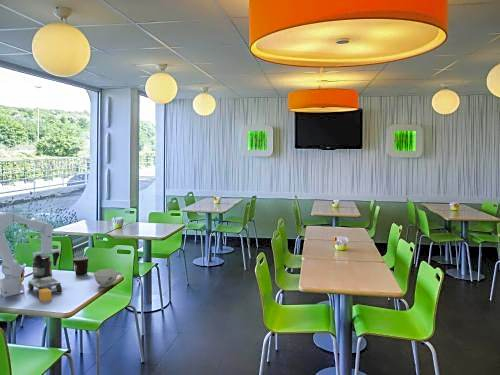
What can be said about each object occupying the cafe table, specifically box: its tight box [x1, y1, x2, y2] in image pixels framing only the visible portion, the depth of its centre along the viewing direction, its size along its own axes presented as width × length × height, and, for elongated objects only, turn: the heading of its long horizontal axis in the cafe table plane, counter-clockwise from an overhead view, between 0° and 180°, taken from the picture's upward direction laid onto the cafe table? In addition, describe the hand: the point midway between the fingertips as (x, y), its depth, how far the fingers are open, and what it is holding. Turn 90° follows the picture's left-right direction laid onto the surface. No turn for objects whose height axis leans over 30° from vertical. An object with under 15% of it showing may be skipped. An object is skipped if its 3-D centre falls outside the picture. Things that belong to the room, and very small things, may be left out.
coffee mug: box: [72, 256, 89, 277], centre depth 262 cm, size 12×9×10 cm
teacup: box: [93, 268, 123, 288], centre depth 240 cm, size 15×12×8 cm
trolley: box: [27, 276, 63, 296], centre depth 231 cm, size 11×20×5 cm, turn 44°
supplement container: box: [31, 255, 53, 279], centre depth 259 cm, size 10×10×12 cm
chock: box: [38, 287, 53, 303], centre depth 218 cm, size 4×6×5 cm, turn 44°
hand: (47, 267), depth 245 cm, fingers open, 7 cm apart
